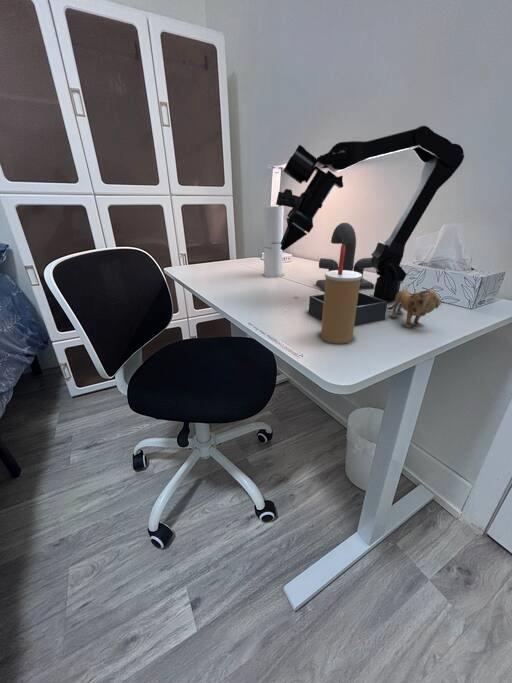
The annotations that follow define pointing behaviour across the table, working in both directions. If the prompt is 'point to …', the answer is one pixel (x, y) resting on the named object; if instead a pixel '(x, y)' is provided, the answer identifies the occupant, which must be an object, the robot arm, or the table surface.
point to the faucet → (346, 256)
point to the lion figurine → (415, 304)
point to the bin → (365, 312)
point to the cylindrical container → (273, 240)
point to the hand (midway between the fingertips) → (281, 247)
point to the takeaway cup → (340, 303)
